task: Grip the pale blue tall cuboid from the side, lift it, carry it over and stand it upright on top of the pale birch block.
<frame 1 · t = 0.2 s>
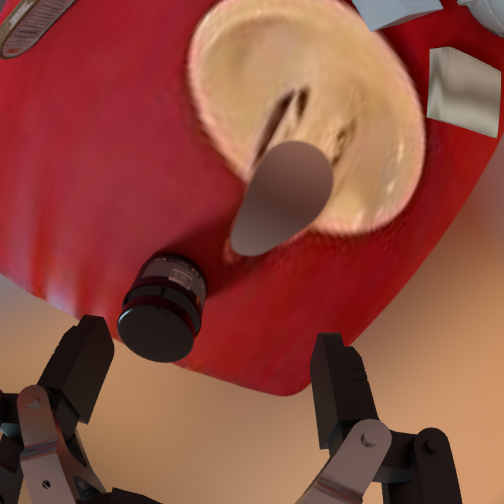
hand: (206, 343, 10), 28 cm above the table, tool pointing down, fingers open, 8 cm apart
teacup: (473, 7, 22), on the table
supplement container: (174, 280, 44), on the table
pale blue tall cuboid: (377, 10, 25), on the table
tin: (53, 19, 24), on the table
birch block: (455, 91, 29), on the table
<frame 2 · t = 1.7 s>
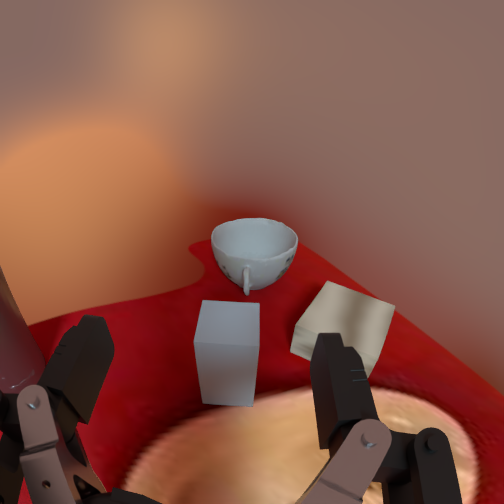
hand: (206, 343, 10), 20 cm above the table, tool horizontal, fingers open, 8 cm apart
teacup: (250, 285, 46), on the table
pale blue tall cuboid: (229, 385, 30), on the table
birch block: (340, 343, 36), on the table
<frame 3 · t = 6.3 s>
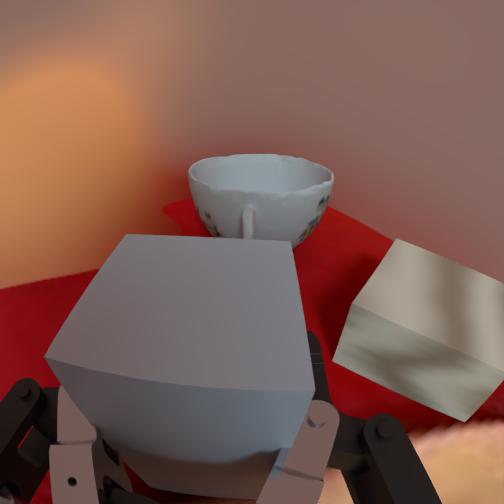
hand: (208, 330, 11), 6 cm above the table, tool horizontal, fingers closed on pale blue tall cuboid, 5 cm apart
teacup: (255, 254, 28), on the table
pale blue tall cuboid: (211, 449, 12), on the table, touching gripper
birch block: (418, 347, 18), on the table
when the fingers open (12 cm above the table, at t = 13.3 s): pale blue tall cuboid stays where it is, resting on birch block.
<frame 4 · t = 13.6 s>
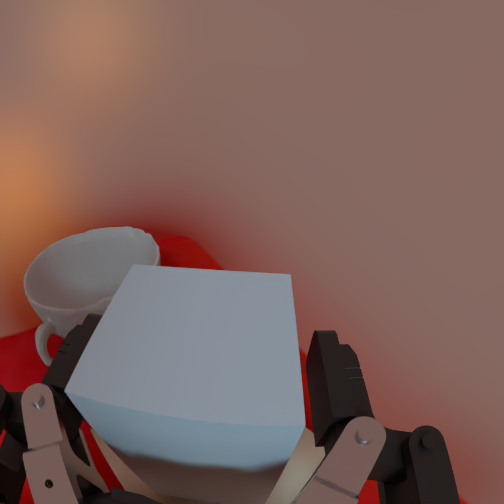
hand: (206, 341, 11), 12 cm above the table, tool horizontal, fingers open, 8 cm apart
teacup: (104, 337, 25), on the table
pale blue tall cuboid: (213, 458, 12), point 5 cm above the table, touching birch block
birch block: (216, 479, 15), on the table, touching pale blue tall cuboid
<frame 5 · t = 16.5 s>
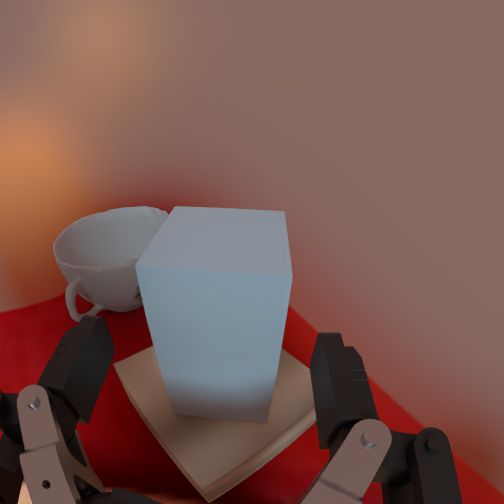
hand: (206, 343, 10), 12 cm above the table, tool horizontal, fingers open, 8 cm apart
teacup: (121, 303, 29), on the table
pale blue tall cuboid: (224, 382, 17), point 5 cm above the table
birch block: (221, 417, 19), on the table
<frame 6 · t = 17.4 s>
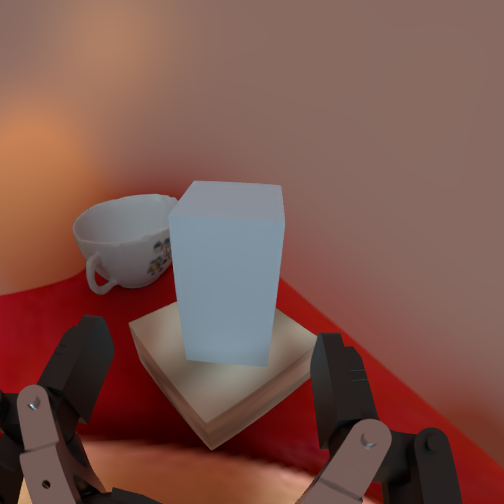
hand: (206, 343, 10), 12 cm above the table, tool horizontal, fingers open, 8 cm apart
teacup: (133, 281, 33), on the table
pale blue tall cuboid: (230, 335, 20), point 5 cm above the table, touching birch block
birch block: (222, 375, 23), on the table, touching pale blue tall cuboid
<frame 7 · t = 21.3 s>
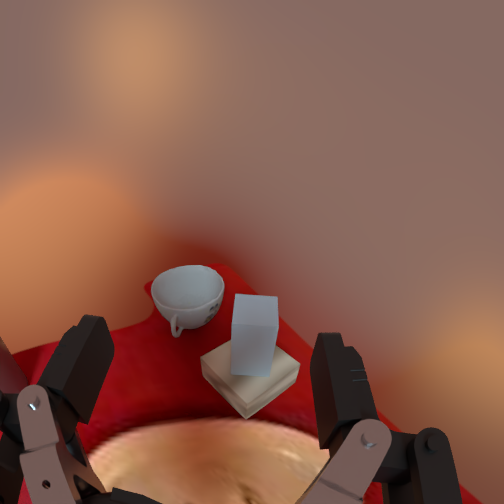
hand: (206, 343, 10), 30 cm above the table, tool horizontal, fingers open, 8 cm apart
teacup: (189, 323, 53), on the table
pale blue tall cuboid: (250, 361, 40), point 5 cm above the table
birch block: (248, 381, 43), on the table
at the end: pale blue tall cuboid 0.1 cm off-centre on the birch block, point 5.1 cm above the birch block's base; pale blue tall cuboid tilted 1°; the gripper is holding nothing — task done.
